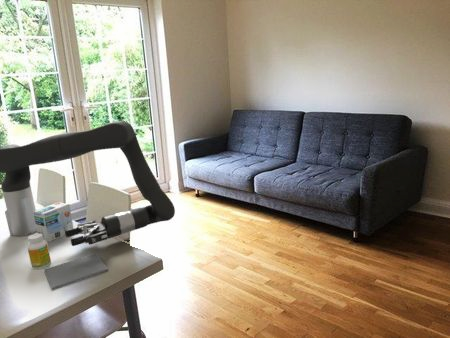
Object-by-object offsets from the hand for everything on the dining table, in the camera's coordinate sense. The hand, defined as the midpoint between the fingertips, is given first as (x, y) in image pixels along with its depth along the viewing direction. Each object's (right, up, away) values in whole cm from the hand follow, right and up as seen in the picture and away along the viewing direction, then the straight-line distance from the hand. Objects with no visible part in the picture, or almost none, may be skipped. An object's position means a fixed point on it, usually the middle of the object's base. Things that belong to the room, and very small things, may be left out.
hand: (68, 238), depth 117 cm
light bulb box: (-12, -3, +19) cm, 23 cm away
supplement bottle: (-7, -8, -3) cm, 11 cm away
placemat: (+6, -8, -9) cm, 13 cm away
